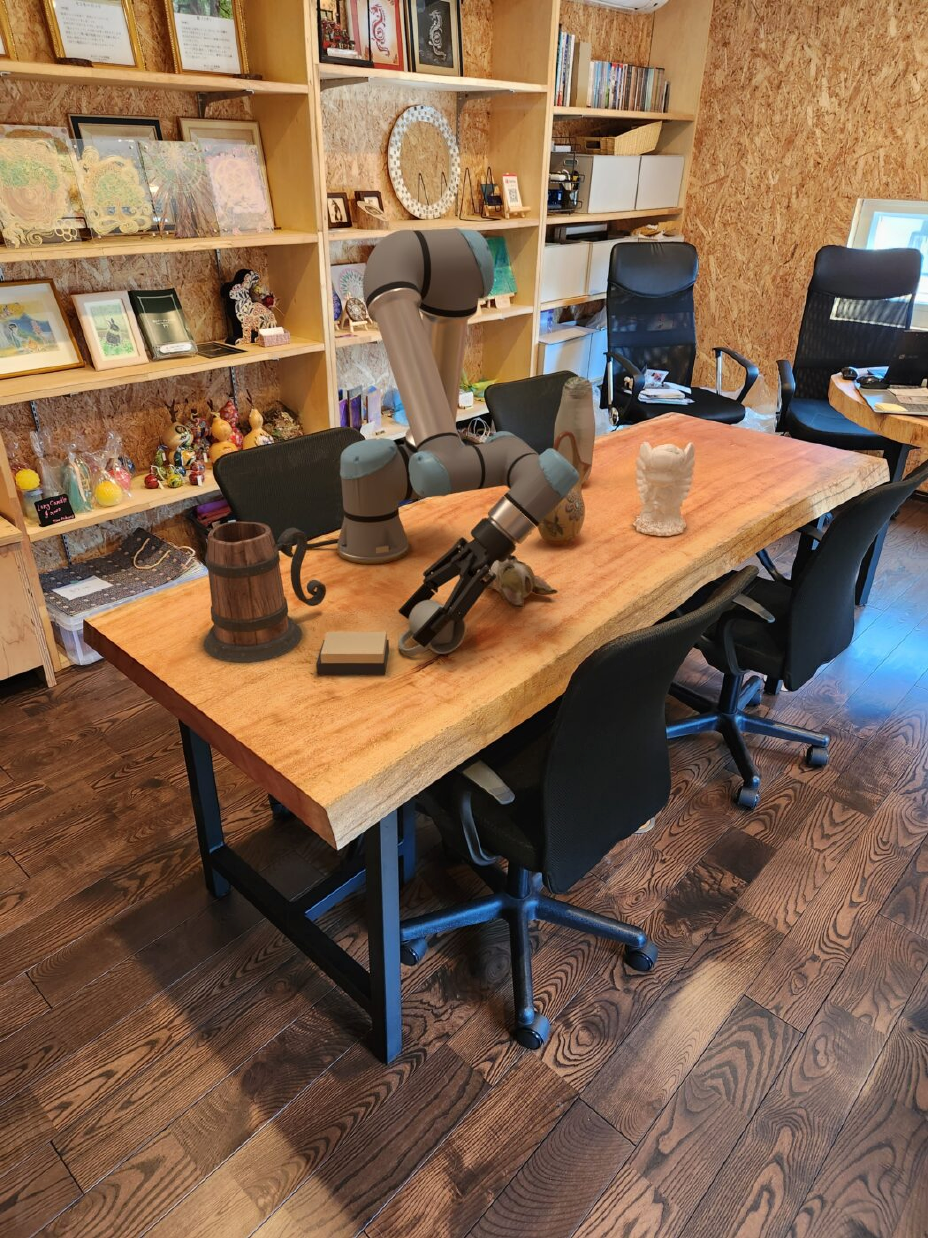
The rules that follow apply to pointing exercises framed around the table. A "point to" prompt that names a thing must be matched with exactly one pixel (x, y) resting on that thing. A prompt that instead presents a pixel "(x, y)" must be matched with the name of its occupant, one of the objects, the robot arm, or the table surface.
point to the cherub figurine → (663, 487)
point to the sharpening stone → (353, 653)
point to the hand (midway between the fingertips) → (410, 628)
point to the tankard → (253, 592)
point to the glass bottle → (577, 420)
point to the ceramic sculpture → (517, 581)
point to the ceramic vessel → (566, 504)
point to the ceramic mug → (442, 641)
